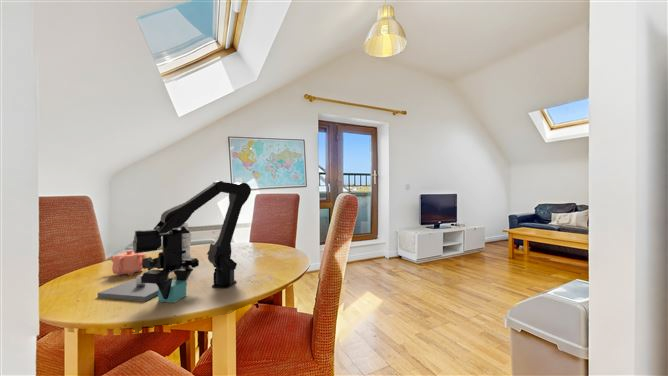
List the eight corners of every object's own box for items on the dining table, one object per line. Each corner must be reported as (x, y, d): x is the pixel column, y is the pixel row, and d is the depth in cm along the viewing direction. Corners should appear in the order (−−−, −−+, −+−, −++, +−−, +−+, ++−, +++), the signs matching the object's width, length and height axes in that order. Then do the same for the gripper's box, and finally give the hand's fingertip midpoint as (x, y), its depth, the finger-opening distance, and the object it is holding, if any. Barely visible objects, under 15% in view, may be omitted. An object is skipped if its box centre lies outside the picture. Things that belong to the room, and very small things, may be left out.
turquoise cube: (186, 295, 90) (186, 280, 90) (173, 302, 84) (173, 286, 84) (171, 294, 91) (171, 279, 91) (158, 301, 85) (158, 285, 85)
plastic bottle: (184, 270, 116) (184, 225, 116) (171, 269, 118) (171, 224, 118) (195, 266, 123) (195, 223, 123) (182, 265, 124) (182, 222, 124)
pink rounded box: (109, 273, 112) (108, 250, 112) (143, 267, 121) (143, 246, 121) (111, 280, 104) (111, 255, 104) (148, 273, 113) (148, 250, 112)
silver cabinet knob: (148, 285, 95) (148, 274, 95) (140, 288, 92) (140, 277, 92) (141, 284, 96) (141, 274, 96) (133, 287, 93) (133, 276, 93)
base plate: (179, 284, 100) (179, 280, 100) (144, 301, 85) (144, 296, 85) (137, 281, 103) (137, 277, 103) (97, 297, 88) (97, 293, 88)
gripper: (172, 241, 98) (172, 283, 98) (125, 254, 79) (125, 306, 79) (199, 242, 96) (199, 285, 96) (157, 255, 78) (157, 308, 78)
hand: (172, 295), depth 87 cm, fingers closed on turquoise cube, 6 cm apart
